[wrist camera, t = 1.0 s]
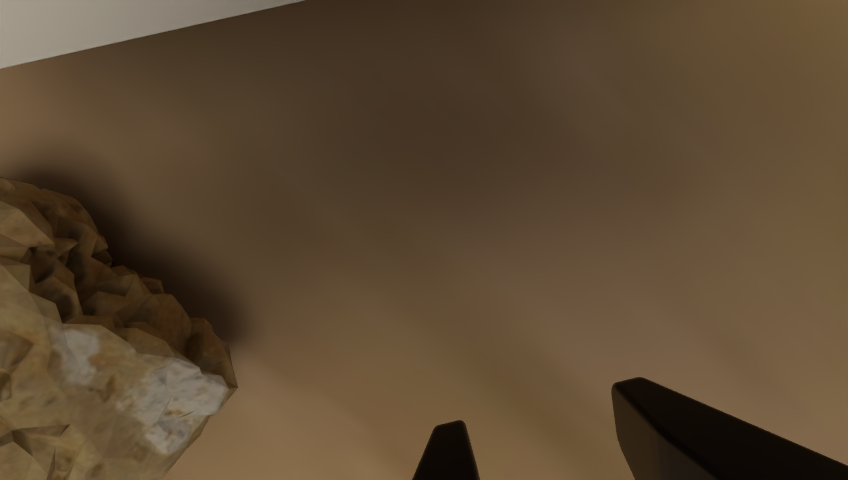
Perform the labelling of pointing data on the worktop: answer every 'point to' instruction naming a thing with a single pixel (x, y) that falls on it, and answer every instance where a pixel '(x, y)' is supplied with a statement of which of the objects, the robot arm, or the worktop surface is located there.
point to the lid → (102, 22)
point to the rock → (93, 353)
